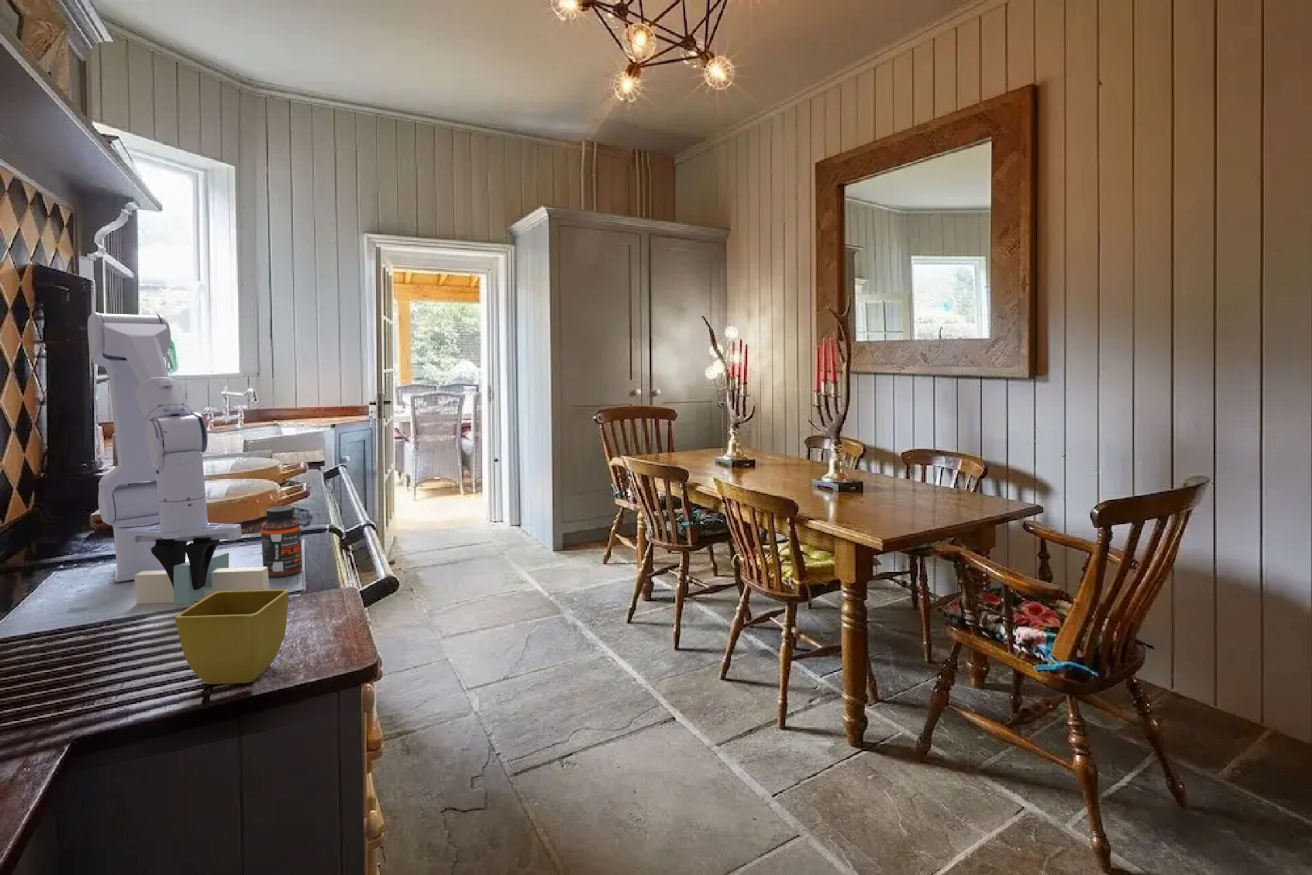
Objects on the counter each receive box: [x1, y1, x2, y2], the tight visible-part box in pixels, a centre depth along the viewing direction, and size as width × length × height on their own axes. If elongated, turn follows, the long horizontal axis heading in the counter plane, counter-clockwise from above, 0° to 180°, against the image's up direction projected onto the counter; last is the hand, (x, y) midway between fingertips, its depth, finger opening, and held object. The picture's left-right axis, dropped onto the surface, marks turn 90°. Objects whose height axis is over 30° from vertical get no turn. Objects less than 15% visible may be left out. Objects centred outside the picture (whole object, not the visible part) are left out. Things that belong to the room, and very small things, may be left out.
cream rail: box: [134, 566, 270, 605], centre depth 105 cm, size 18×2×4 cm, turn 98°
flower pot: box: [174, 589, 290, 685], centre depth 81 cm, size 9×9×9 cm
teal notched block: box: [173, 552, 230, 605], centre depth 105 cm, size 12×2×6 cm, turn 8°
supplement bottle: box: [260, 505, 303, 578], centre depth 118 cm, size 6×6×11 cm
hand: (189, 588), depth 102 cm, fingers closed on teal notched block, 2 cm apart
